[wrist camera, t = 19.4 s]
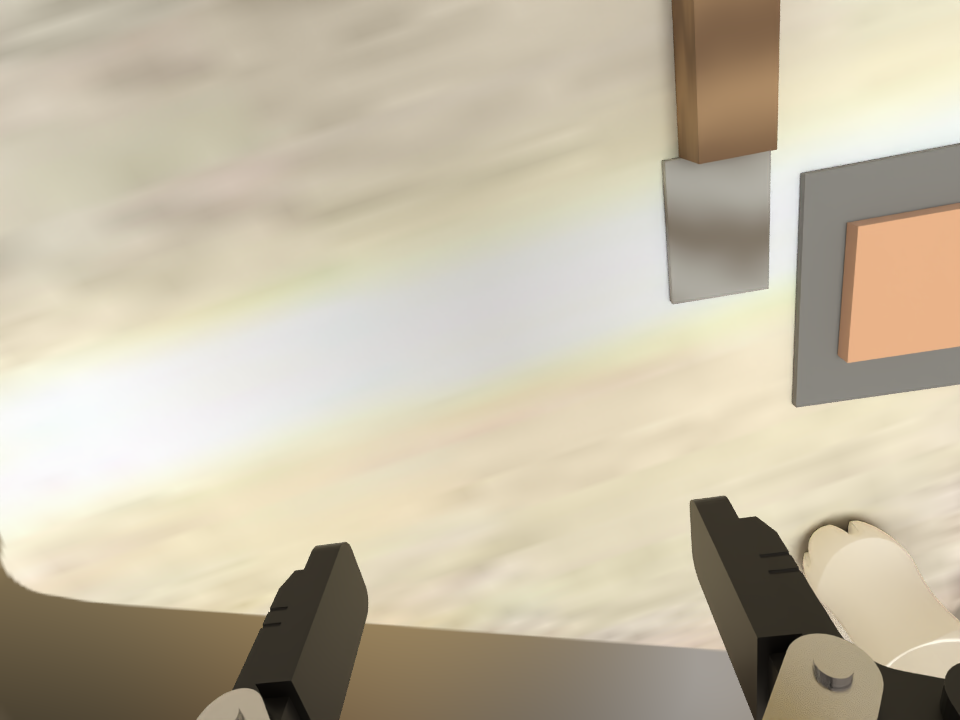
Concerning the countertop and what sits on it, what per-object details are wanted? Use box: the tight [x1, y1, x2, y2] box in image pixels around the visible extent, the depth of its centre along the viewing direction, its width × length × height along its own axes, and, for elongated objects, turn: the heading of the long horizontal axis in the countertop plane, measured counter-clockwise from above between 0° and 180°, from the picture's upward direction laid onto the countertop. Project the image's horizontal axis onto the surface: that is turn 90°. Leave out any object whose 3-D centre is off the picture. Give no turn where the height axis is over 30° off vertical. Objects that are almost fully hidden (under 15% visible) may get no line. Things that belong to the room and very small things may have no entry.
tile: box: [838, 203, 960, 363], centre depth 35 cm, size 1×7×9 cm
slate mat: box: [792, 143, 960, 407], centre depth 36 cm, size 16×12×1 cm
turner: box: [662, 0, 780, 304], centre depth 31 cm, size 21×6×4 cm, turn 11°
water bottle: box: [803, 521, 960, 679], centre depth 34 cm, size 7×7×25 cm
